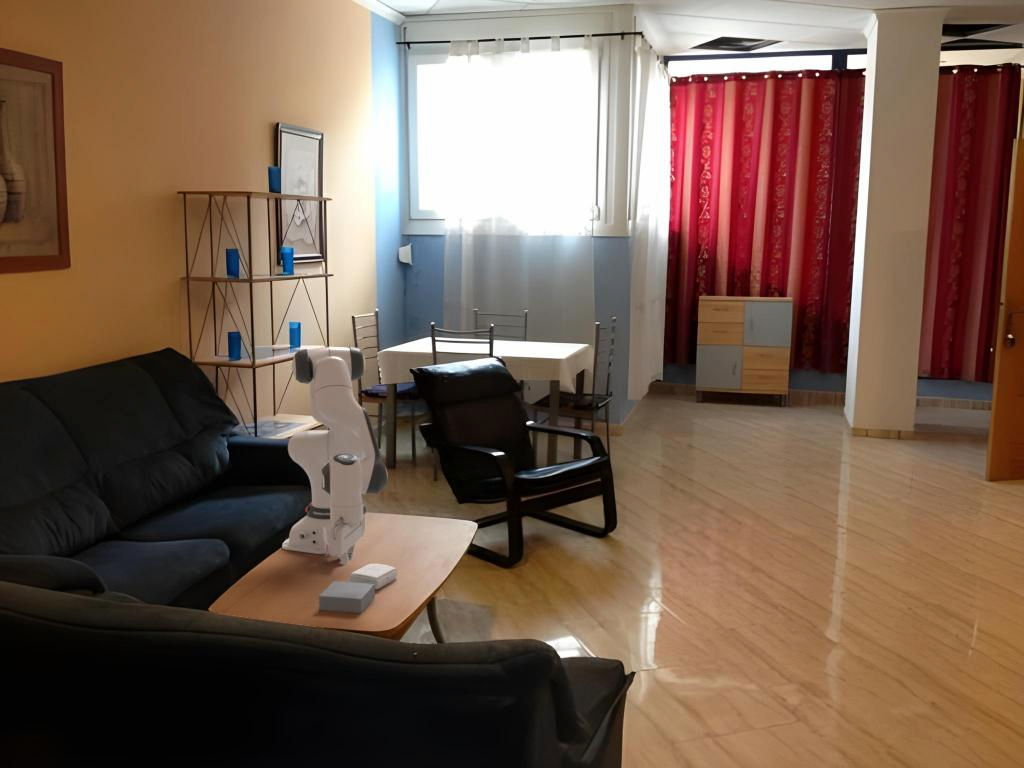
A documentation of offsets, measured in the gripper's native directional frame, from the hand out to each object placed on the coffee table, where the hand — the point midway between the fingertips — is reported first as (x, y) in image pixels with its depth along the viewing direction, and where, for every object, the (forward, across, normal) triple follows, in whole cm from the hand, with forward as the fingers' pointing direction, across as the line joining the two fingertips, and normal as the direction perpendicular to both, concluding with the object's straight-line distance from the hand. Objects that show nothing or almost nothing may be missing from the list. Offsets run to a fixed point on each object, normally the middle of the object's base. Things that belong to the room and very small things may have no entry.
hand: (347, 561), depth 254 cm
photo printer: (+10, +12, -1) cm, 15 cm away
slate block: (+12, 0, 0) cm, 12 cm away
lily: (+13, +29, +18) cm, 36 cm away
